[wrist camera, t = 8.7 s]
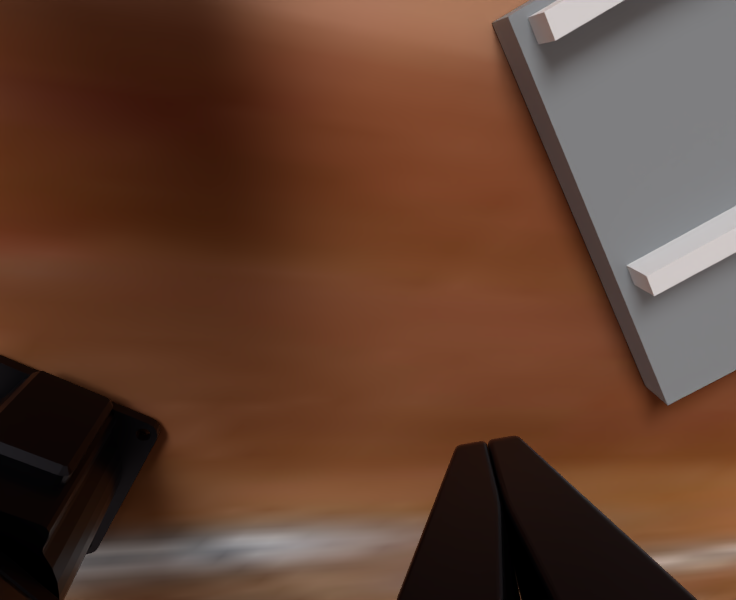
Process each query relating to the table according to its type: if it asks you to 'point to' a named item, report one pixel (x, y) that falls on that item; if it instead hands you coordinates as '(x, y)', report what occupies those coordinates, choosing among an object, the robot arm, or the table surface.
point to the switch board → (644, 164)
